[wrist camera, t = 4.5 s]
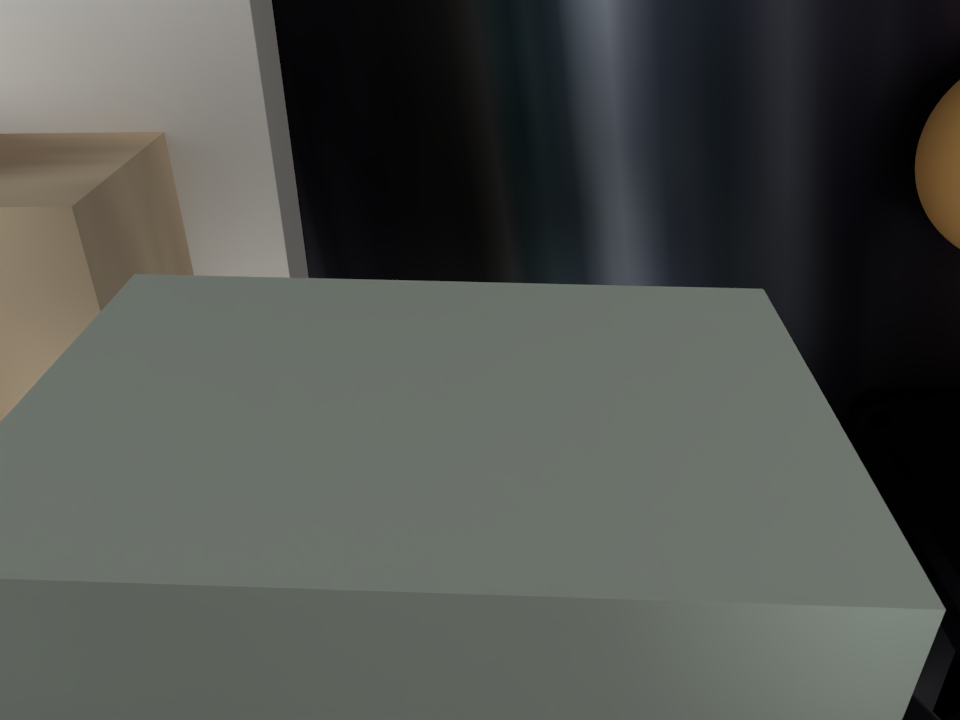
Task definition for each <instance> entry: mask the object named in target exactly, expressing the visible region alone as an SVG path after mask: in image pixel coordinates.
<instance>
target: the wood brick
mask: <svg viewBox="0 0 960 720" xmlns="http://www.w3.org/2000/svg"><path fill="white" fill-rule="evenodd" d="M134 274H155V275H194V273H193V268H192V263H191V259H190V254H189V249H188V244H187V239H186V234H185V230H184V225H183V220H182V215H181V210H180V206H179V201H178V196H177V191H176V186H175V181H174V177H173V172H172V167H171V162H170V157H169V153H168V148H167V143H166V138H165V133H164V132H110V133H25V134H0V422H1V421H2V420H3V419H4V418H5V417H6V416H7V415H8V413H9V412H10V411H11V410H12V409H13V408H14V407H15V406H16V405H17V403H18V402H19V401H20V400H21V399H22V398H23V397H24V396H25V395H26V393H27V392H28V391H29V390H30V389H31V388H32V387H33V386H34V385H35V384H36V382H37V381H38V380H39V379H40V378H41V377H42V376H43V375H44V374H45V372H46V371H47V370H48V369H49V368H50V367H51V366H52V365H53V364H54V363H55V361H56V360H57V359H58V358H59V357H60V356H61V355H62V354H63V353H64V351H65V350H66V349H67V348H68V347H69V346H70V345H71V344H72V343H73V342H74V340H75V339H76V338H77V337H78V336H79V335H80V334H81V333H82V332H83V330H84V329H85V328H86V327H87V326H88V325H89V324H90V323H91V322H92V321H93V319H94V318H95V317H96V316H97V315H98V314H99V313H100V312H101V311H102V309H103V308H104V307H105V306H106V305H107V304H108V303H109V302H110V301H111V300H112V298H113V297H114V296H115V295H116V294H117V293H118V292H119V291H120V290H121V288H122V287H123V286H124V285H125V284H126V283H127V282H128V281H129V280H130V279H131V277H132V276H133V275H134Z"/></svg>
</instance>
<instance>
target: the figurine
mask: <svg viewBox="0 0 960 720" xmlns="http://www.w3.org/2000/svg"><path fill="white" fill-rule="evenodd" d="M915 180H916V187H917V191H918V195H919V198H920V201H921V204H922V206H923V208H924V210H925V212H926V214H927V216H928V218H929V219H930V221H931V222H932V224H933V225H934V226H935V227H936V229H937V230H938V231H939V232H940V233H941V234H942V235H943V236H944V237H945V238H946V239H947V240H948V241H950V242H951V243H952V244H953V245H955V246H956V247H958V248H959V249H960V80H959V81H958V82H957V83H956V84H954V85H953V86H952V87H951V88H950V89H949V90H948V92H947V93H946V94H945V95H944V96H943V97H942V98H941V100H940V101H939V102H938V104H937V105H936V107H935V108H934V110H933V111H932V113H931V114H930V116H929V118H928V120H927V122H926V124H925V126H924V128H923V131H922V133H921V136H920V139H919V143H918V147H917V151H916V158H915Z"/></svg>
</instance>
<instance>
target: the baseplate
mask: <svg viewBox="0 0 960 720" xmlns="http://www.w3.org/2000/svg"><path fill="white" fill-rule="evenodd" d="M110 132H164V133H165V138H166V143H167V148H168V153H169V157H170V162H171V167H172V172H173V177H174V181H175V186H176V191H177V196H178V201H179V206H180V210H181V215H182V220H183V225H184V230H185V234H186V239H187V244H188V249H189V254H190V259H191V263H192V268H193V273H194V275H197V276H239V277H282V278H309V277H308V269H307V262H306V254H305V247H304V239H303V232H302V224H301V217H300V209H299V202H298V194H297V187H296V179H295V172H294V164H293V157H292V149H291V142H290V134H289V127H288V120H287V112H286V105H285V97H284V90H283V82H282V75H281V67H280V60H279V52H278V45H277V37H276V30H275V22H274V15H273V7H272V0H0V134H25V133H110Z"/></svg>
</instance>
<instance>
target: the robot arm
mask: <svg viewBox="0 0 960 720" xmlns="http://www.w3.org/2000/svg"><path fill="white" fill-rule="evenodd" d="M882 411H883V412H884V414H883V415H882V416H881V417H879V418H878V419H874V420H870V418H871V416H872V415H874V414H875V413H877V412H882ZM847 437H848V439H849V440H850V442H851V444H852V446H853V447H854V449H855V451H856V453H857V454H858V456H859V458H860V460H861V461H862V463H863V465H864V467H865V469H866V470H867V472H868V474H869V476H870V477H871V479H872V481H873V483H874V484H875V486H876V488H877V490H878V491H879V493H880V495H881V497H882V498H883V500H884V502H885V504H886V505H887V507H888V509H889V511H890V512H891V514H892V516H893V518H894V520H895V521H896V523H897V525H898V527H899V528H900V530H901V532H902V534H903V535H904V537H905V539H906V541H907V542H908V544H909V546H910V548H911V549H912V551H913V553H914V555H915V556H916V558H917V560H918V562H919V563H920V565H921V567H922V569H923V570H924V572H925V574H926V576H927V578H928V579H929V581H930V583H931V585H932V586H933V588H934V590H935V592H936V593H937V595H938V597H939V599H940V600H941V602H942V604H943V606H944V607H945V609H946V611H945V613H944V616H943V618H942V621H941V623H940V626H939V628H938V631H937V633H936V636H935V639H934V641H933V644H932V646H931V649H930V651H929V654H928V656H927V659H926V661H925V664H924V666H923V669H922V671H921V674H920V676H919V679H918V681H917V684H916V686H915V689H914V691H913V694H912V696H911V699H910V701H909V704H908V706H907V709H906V711H905V714H904V716H903V719H902V720H960V393H878V394H872V395H868V396H866V397H864V398H862V399H861V400H860V401H859V402H858V403H857V404H856V405H855V407H854V410H853V412H852V416H851V421H850V425H849V429H848V433H847Z"/></svg>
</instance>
